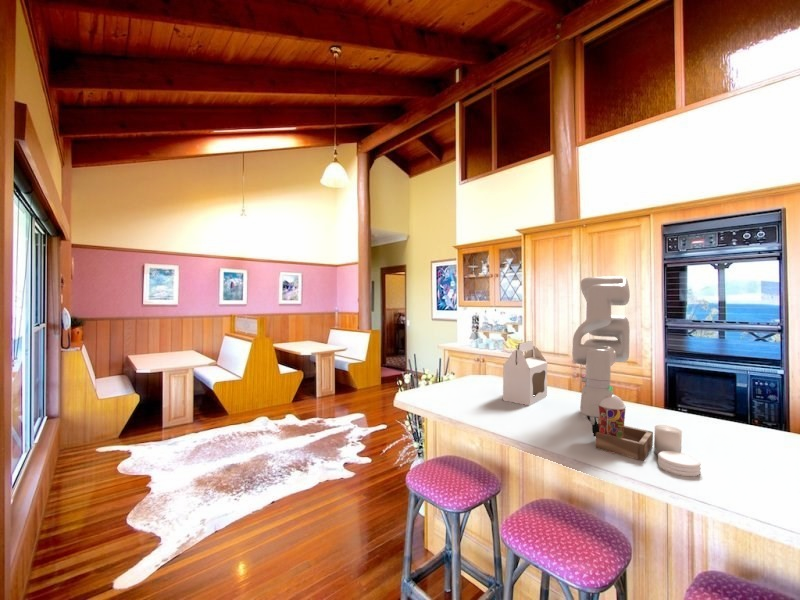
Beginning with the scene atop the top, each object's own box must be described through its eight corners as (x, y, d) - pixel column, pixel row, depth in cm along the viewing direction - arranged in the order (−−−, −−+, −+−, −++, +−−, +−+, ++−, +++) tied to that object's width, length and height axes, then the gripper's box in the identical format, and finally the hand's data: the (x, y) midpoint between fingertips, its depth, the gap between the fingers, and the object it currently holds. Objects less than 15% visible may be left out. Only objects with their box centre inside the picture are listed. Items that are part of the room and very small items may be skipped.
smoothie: (623, 452, 119) (624, 390, 119) (594, 445, 124) (595, 386, 124) (626, 443, 126) (627, 385, 125) (599, 438, 131) (600, 382, 131)
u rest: (608, 435, 133) (608, 422, 133) (652, 446, 124) (652, 431, 124) (595, 448, 122) (595, 433, 122) (643, 460, 113) (643, 444, 113)
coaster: (708, 479, 102) (709, 466, 102) (669, 476, 104) (669, 463, 104) (687, 462, 112) (687, 451, 112) (651, 460, 114) (651, 449, 114)
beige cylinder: (654, 446, 123) (655, 423, 122) (680, 452, 119) (681, 428, 118) (653, 454, 117) (654, 430, 117) (681, 460, 113) (682, 435, 113)
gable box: (521, 391, 194) (522, 338, 193) (547, 396, 185) (547, 341, 184) (502, 400, 177) (503, 342, 177) (529, 406, 168) (529, 345, 168)
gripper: (571, 381, 130) (571, 433, 130) (619, 389, 120) (618, 445, 120) (579, 378, 136) (578, 428, 136) (625, 385, 125) (624, 439, 125)
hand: (597, 436), depth 128 cm, fingers closed
